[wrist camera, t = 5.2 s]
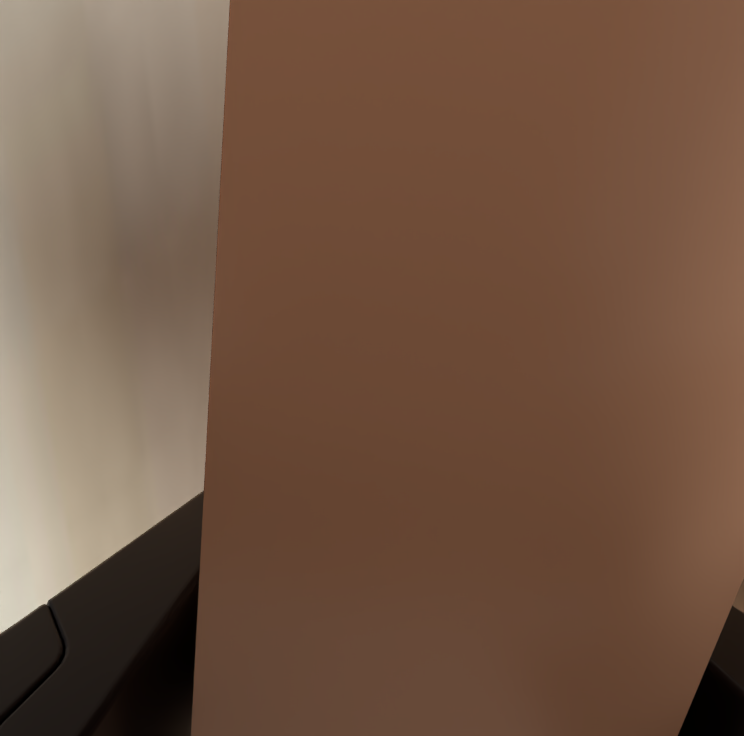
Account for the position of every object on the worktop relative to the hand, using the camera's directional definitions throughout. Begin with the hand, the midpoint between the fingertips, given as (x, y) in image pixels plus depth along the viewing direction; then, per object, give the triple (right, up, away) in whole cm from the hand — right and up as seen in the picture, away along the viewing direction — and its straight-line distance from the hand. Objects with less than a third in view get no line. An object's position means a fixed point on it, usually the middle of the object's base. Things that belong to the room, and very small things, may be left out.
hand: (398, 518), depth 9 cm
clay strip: (0, 0, +1) cm, 1 cm away
